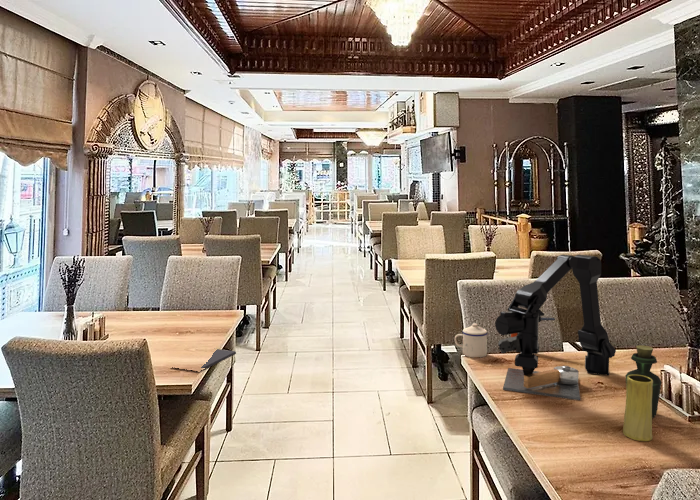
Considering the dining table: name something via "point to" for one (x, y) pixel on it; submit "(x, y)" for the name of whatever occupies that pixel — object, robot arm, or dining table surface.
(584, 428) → the dining table surface
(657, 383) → the potion bottle
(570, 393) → the chuck base plate
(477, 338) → the teacup with lid
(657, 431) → the dining table surface
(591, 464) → the dining table surface
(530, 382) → the wooden bar
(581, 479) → the dining table surface
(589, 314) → the robot arm
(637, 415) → the vase
